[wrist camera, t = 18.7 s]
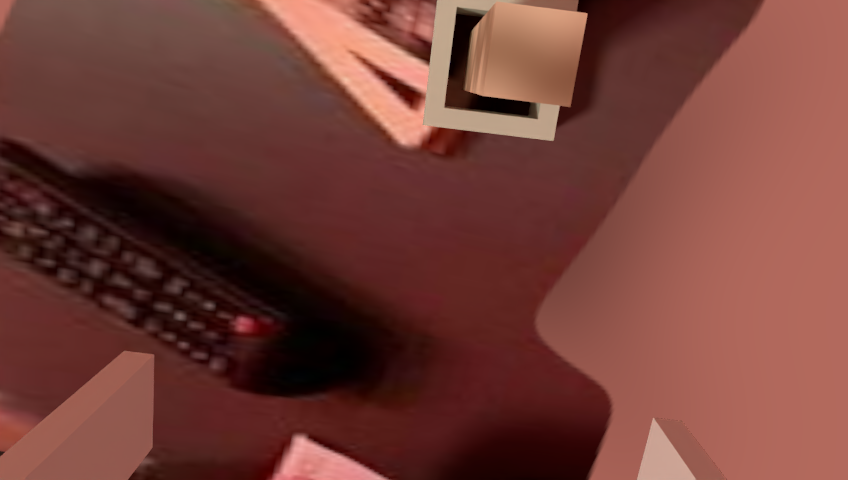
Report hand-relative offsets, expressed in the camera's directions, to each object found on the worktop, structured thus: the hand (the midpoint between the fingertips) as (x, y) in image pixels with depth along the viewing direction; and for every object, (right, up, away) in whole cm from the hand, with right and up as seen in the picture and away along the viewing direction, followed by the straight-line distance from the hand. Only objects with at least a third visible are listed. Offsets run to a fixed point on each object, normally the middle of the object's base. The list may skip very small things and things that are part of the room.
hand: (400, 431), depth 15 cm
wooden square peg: (+6, +18, +27) cm, 33 cm away
